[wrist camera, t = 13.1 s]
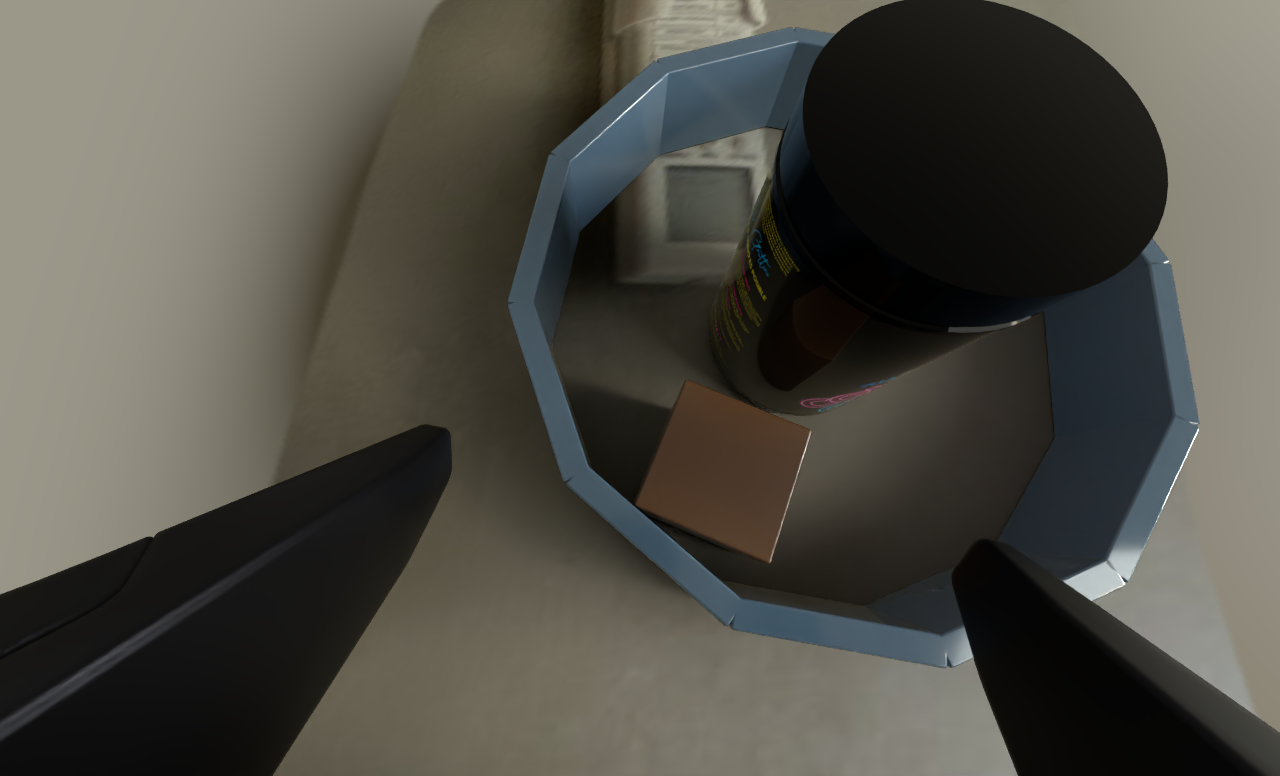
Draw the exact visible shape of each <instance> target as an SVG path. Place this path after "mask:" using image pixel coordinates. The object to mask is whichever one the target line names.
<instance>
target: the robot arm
mask: <svg viewBox="0 0 1280 776" xmlns="http://www.w3.org/2000/svg"><path fill="white" fill-rule="evenodd" d="M451 472H452V450H451V434H450V432H449V430H448V429H446V428H443V427H438V426H433V425H428V424H424V425H420V426H418V427H415V428H413V429H410V430H408V431H405V432H403V433H400V434H398V435H396V436H393V437H391V438H388V439H386V440H383V441H381V442H378V443H376V444H374V445H371V446H369V447H366V448H364V449H361V450H359V451H356V452H354V453H351V454H349V455H347V456H344V457H342V458H339V459H337V460H334V461H332V462H329V463H327V464H325V465H322V466H320V467H317V468H315V469H312V470H310V471H307V472H305V473H303V474H300V475H298V476H295V477H293V478H290V479H288V480H285V481H283V482H281V483H278V484H276V485H273V486H271V487H268V488H266V489H263V490H261V491H258V492H256V493H254V494H251V495H249V496H246V497H244V498H241V499H239V500H237V501H234V502H231V503H229V504H227V505H224V506H222V507H219V508H217V509H215V510H212V511H209V512H207V513H205V514H202V515H200V516H197V517H195V518H192V519H190V520H187V521H185V522H183V523H180V524H178V525H175V526H173V527H170V528H168V529H165V530H163V531H160V532H158V533H157V534H156V535H155V536H154V538H153V537H145V538H143V539H141V540H138V541H136V542H133V543H131V544H128V545H126V546H123V547H121V548H118V549H116V550H114V551H111V552H109V553H106V554H104V555H101V556H99V557H96V558H94V559H91V560H89V561H86V562H84V563H81V564H78V565H76V566H73V567H71V568H68V569H66V570H63V571H61V572H58V573H56V574H53V575H50V576H48V577H45V578H43V579H40V580H38V581H35V582H33V583H30V584H27V585H25V586H22V587H19V588H16V589H14V590H11V591H8V592H6V593H3V594H1V595H0V776H273V774H274V773H275V771H276V769H277V768H278V766H279V765H280V763H281V762H282V760H283V758H284V757H285V755H286V754H287V752H288V751H289V749H290V747H291V746H292V744H293V743H294V741H295V740H296V738H297V736H298V735H299V733H300V732H301V730H302V729H303V727H304V725H305V724H306V722H307V721H308V719H309V718H310V716H311V714H312V713H313V711H314V710H315V708H316V707H317V705H318V703H319V702H320V700H321V699H322V697H323V696H324V694H325V692H326V691H327V689H328V688H329V686H330V685H331V683H332V681H333V680H334V678H335V677H336V675H337V674H338V672H339V670H340V669H341V667H342V666H343V664H344V663H345V661H346V659H347V658H348V656H349V655H350V653H351V652H352V650H353V648H354V647H355V645H356V644H357V642H358V641H359V639H360V637H361V636H362V634H363V633H364V631H365V630H366V628H367V626H368V625H369V623H370V622H371V620H372V619H373V617H374V615H375V614H376V612H377V611H378V609H379V608H380V606H381V604H382V603H383V601H384V600H385V598H386V597H387V595H388V593H389V592H390V590H391V589H392V587H393V586H394V584H395V582H396V581H397V579H398V578H399V576H400V575H401V573H402V571H403V570H404V568H405V566H406V565H407V563H408V561H409V559H410V558H411V556H412V554H413V552H414V550H415V548H416V546H417V544H418V542H419V540H420V538H421V536H422V534H423V532H424V530H425V528H426V526H427V524H428V522H429V520H430V518H431V516H432V514H433V512H434V510H435V508H436V506H437V504H438V501H439V499H440V497H441V495H442V493H443V491H444V489H445V487H446V485H447V483H448V481H449V479H450V476H451ZM951 582H952V587H953V590H954V594H955V597H956V600H957V604H958V607H959V610H960V614H961V617H962V621H963V624H964V627H965V631H966V634H967V638H968V641H969V644H970V648H971V651H972V655H973V658H974V661H975V665H976V668H977V671H978V674H979V677H980V680H981V683H982V685H983V688H984V691H985V693H986V696H987V699H988V701H989V704H990V706H991V709H992V711H993V714H994V716H995V719H996V721H997V724H998V726H999V729H1000V731H1001V734H1002V737H1003V739H1004V742H1005V744H1006V747H1007V749H1008V752H1009V754H1010V757H1011V759H1012V762H1013V764H1014V767H1015V769H1016V772H1017V775H1018V776H1280V732H1278V731H1277V730H1275V729H1274V728H1272V727H1271V726H1269V725H1268V724H1267V723H1265V722H1264V721H1262V720H1261V719H1259V718H1258V717H1257V716H1255V715H1254V714H1252V713H1251V712H1249V711H1248V710H1247V709H1245V708H1244V707H1242V706H1241V705H1239V704H1238V703H1237V702H1235V701H1234V700H1232V699H1231V698H1229V697H1228V696H1227V695H1225V694H1224V693H1222V692H1221V691H1219V690H1218V689H1217V688H1215V687H1214V686H1212V685H1211V684H1209V683H1208V682H1207V681H1205V680H1204V679H1202V678H1201V677H1199V676H1198V675H1197V674H1195V673H1194V672H1192V671H1191V670H1189V669H1188V668H1187V667H1185V666H1184V665H1182V664H1181V663H1179V662H1178V661H1177V660H1175V659H1174V658H1172V657H1171V656H1169V655H1168V654H1167V653H1165V652H1164V651H1162V650H1161V649H1159V648H1158V647H1157V646H1155V645H1154V644H1152V643H1151V642H1149V641H1148V640H1146V639H1145V638H1144V637H1142V636H1141V635H1139V634H1138V633H1136V632H1135V631H1134V630H1132V629H1131V628H1129V627H1128V626H1126V625H1125V624H1124V623H1122V622H1121V621H1119V620H1118V619H1116V618H1115V617H1114V616H1112V615H1111V614H1109V613H1108V612H1106V611H1105V610H1104V609H1102V608H1101V607H1099V606H1098V605H1096V604H1095V603H1094V602H1092V601H1091V600H1089V599H1088V598H1086V597H1085V596H1084V595H1082V594H1081V593H1079V592H1078V591H1076V590H1075V589H1074V588H1072V587H1071V586H1069V585H1068V584H1066V583H1065V582H1064V581H1062V580H1061V579H1059V578H1058V577H1056V576H1055V575H1054V574H1052V573H1051V572H1049V571H1048V570H1046V569H1045V568H1044V567H1042V566H1041V565H1039V564H1038V563H1036V562H1035V561H1033V560H1032V559H1031V558H1029V557H1028V556H1026V555H1025V554H1023V553H1022V552H1021V551H1019V550H1018V549H1016V548H1015V547H1013V546H1012V545H1010V544H1008V543H1005V542H1001V541H996V540H991V539H985V538H983V539H979V540H977V541H975V542H974V543H973V544H972V545H971V547H970V548H969V549H968V551H967V552H966V553H965V555H964V556H963V557H962V558H961V560H960V561H959V562H958V564H957V565H956V566H955V567H954V569H953V572H952V576H951Z"/></svg>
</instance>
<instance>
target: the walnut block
mask: <svg viewBox="0 0 1280 776" xmlns="http://www.w3.org/2000/svg"><path fill="white" fill-rule="evenodd" d="M810 435H811V430H809V429H807V428H805V427H802V426H800V425H797V424H795V423H792V422H790V421H787V420H785V419H783V418H780V417H778V416H775V415H773V414H770V413H768V412H766V411H763V410H761V409H758V408H756V407H753V406H751V405H748V404H746V403H744V402H741V401H739V400H736V399H734V398H731V397H729V396H726V395H724V394H722V393H719V392H717V391H714V390H712V389H709V388H707V387H705V386H702V385H700V384H697V383H695V382H692V381H690V380H685V382H684V384H683V386H682V388H681V390H680V392H679V394H678V397H677V399H676V401H675V403H674V405H673V407H672V409H671V411H670V414H669V416H668V419H667V421H666V424H665V426H664V428H663V431H662V433H661V436H660V438H659V441H658V443H657V446H656V448H655V450H654V453H653V455H652V458H651V460H650V463H649V465H648V467H647V470H646V472H645V475H644V477H643V480H642V482H641V485H640V487H639V489H638V492H637V494H636V497H635V499H634V502H633V505H634V506H635V507H636V508H637V509H638V510H640V511H641V512H642V513H643V514H646V515H648V516H650V517H653V518H655V519H657V520H660V521H662V522H664V523H666V524H669V525H671V526H673V527H676V528H678V529H680V530H683V531H685V532H687V533H689V534H692V535H694V536H696V537H699V538H701V539H703V540H706V541H708V542H710V543H712V544H715V545H717V546H719V547H722V548H724V549H726V550H728V551H731V552H733V553H736V554H739V555H742V556H745V557H749V558H752V559H755V560H758V561H761V562H764V563H767V564H770V562H771V560H772V557H773V554H774V550H775V547H776V544H777V541H778V538H779V534H780V531H781V528H782V525H783V522H784V518H785V515H786V512H787V509H788V506H789V502H790V499H791V496H792V493H793V490H794V486H795V483H796V480H797V477H798V474H799V470H800V467H801V464H802V461H803V458H804V454H805V451H806V448H807V445H808V442H809V438H810Z"/></svg>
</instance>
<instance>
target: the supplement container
mask: <svg viewBox="0 0 1280 776" xmlns="http://www.w3.org/2000/svg"><path fill="white" fill-rule="evenodd" d="M1167 188H1168V174H1167V165H1166V159H1165V154H1164V150H1163V146H1162V143H1161V139H1160V137H1159V134H1158V132H1157V129H1156V127H1155V124H1154V122H1153V121H1152V119H1151V117H1150V115H1149V113H1148V111H1147V109H1146V108H1145V106H1144V105H1143V103H1142V101H1141V100H1140V98H1139V97H1138V95H1137V94H1136V93H1135V91H1134V90H1133V89H1132V88H1131V86H1130V85H1129V84H1128V82H1127V81H1126V80H1125V79H1124V78H1123V77H1122V76H1121V75H1120V74H1119V73H1118V71H1117V70H1116V69H1114V67H1113V66H1111V65H1110V64H1109V63H1108V62H1107V61H1106V60H1105V59H1104V58H1103V57H1102V56H1100V55H1099V54H1098V53H1097V52H1095V51H1094V50H1093V49H1091V48H1090V47H1089V46H1088V45H1086V44H1085V43H1083V42H1082V41H1081V40H1079V39H1078V38H1076V37H1075V36H1073V35H1072V34H1070V33H1068V32H1066V31H1065V30H1063V29H1061V28H1060V27H1058V26H1056V25H1054V24H1052V23H1050V22H1048V21H1046V20H1044V19H1042V18H1039V17H1037V16H1034V15H1032V14H1030V13H1027V12H1025V11H1022V10H1019V9H1016V8H1013V7H1010V6H1006V5H1002V4H998V3H995V2H990V1H985V0H903V1H898V2H894V3H891V4H888V5H884V6H881V7H879V8H876V9H874V10H872V11H869V12H867V13H865V14H863V15H862V16H860V17H858V18H856V19H854V20H853V21H852V22H850V23H849V24H847V25H846V26H845V27H843V28H842V29H841V30H840V31H839V32H838V33H836V34H835V35H834V36H833V37H832V38H831V39H830V41H829V42H828V43H827V44H826V45H825V46H824V48H823V49H822V51H821V52H820V54H819V55H818V57H817V58H816V60H815V62H814V64H813V66H812V68H811V71H810V73H809V75H808V78H807V80H806V82H805V85H804V87H803V89H802V92H801V94H800V96H799V99H798V101H797V104H796V106H795V108H794V111H793V113H792V115H791V117H790V119H789V121H788V122H787V124H786V127H785V129H784V131H783V133H782V135H781V138H780V140H779V143H778V146H777V150H776V153H775V159H774V161H773V164H772V166H771V168H770V171H769V173H768V175H767V178H766V180H765V182H764V185H763V187H762V189H761V192H760V194H759V196H758V199H757V201H756V203H755V206H754V208H753V210H752V213H751V215H750V217H749V220H748V222H747V224H746V227H745V229H744V231H743V234H742V236H741V238H740V241H739V243H738V245H737V248H736V250H735V253H734V255H733V257H732V260H731V262H730V264H729V267H728V269H727V271H726V274H725V276H724V278H723V281H722V283H721V285H720V288H719V290H718V292H717V295H716V297H715V299H714V302H713V304H712V307H711V311H710V316H709V324H708V334H709V342H710V346H711V350H712V353H713V356H714V359H715V361H716V363H717V365H718V367H719V369H720V370H721V372H722V374H723V375H724V376H725V378H726V379H727V380H728V382H729V383H730V384H731V385H732V386H733V387H734V388H735V389H736V390H737V391H738V392H739V393H740V394H742V395H743V396H744V397H746V398H747V399H748V400H750V401H752V402H753V403H755V404H757V405H759V406H761V407H763V408H765V409H768V410H771V411H773V412H777V413H781V414H786V415H795V416H807V415H816V414H821V413H824V412H828V411H830V410H833V409H835V408H837V407H840V406H842V405H844V404H846V403H848V402H850V401H852V400H854V399H856V398H858V397H860V396H862V395H864V394H866V393H869V392H871V391H873V390H875V389H877V388H879V387H881V386H883V385H885V384H887V383H889V382H891V381H893V380H896V379H898V378H900V377H902V376H904V375H906V374H908V373H910V372H912V371H914V370H916V369H918V368H920V367H922V366H925V365H927V364H929V363H931V362H933V361H935V360H937V359H939V358H941V357H943V356H945V355H947V354H949V353H951V352H954V351H956V350H958V349H960V348H962V347H964V346H966V345H968V344H970V343H972V342H974V341H976V340H978V339H981V338H983V337H985V336H987V335H989V334H991V333H993V332H995V331H999V330H1003V329H1006V328H1009V327H1011V326H1014V325H1016V324H1019V323H1021V322H1023V321H1025V320H1027V319H1029V318H1031V317H1033V316H1035V315H1037V314H1039V313H1040V312H1042V311H1043V310H1045V309H1047V308H1049V307H1051V306H1053V305H1055V304H1057V303H1059V302H1061V301H1063V300H1066V299H1068V298H1070V297H1072V296H1074V295H1076V294H1078V293H1080V292H1082V291H1084V290H1086V289H1089V288H1091V287H1093V286H1095V285H1097V284H1099V283H1101V282H1103V281H1105V280H1107V279H1109V278H1110V277H1112V276H1114V275H1116V274H1117V273H1119V272H1120V271H1121V270H1123V269H1124V268H1126V267H1127V266H1128V265H1129V264H1131V263H1132V262H1133V261H1134V260H1135V259H1136V258H1137V257H1138V256H1139V255H1140V254H1141V253H1142V251H1143V250H1144V249H1145V248H1146V246H1147V245H1148V244H1149V243H1150V241H1151V239H1152V237H1153V236H1154V234H1155V232H1156V231H1157V229H1158V226H1159V224H1160V221H1161V219H1162V216H1163V213H1164V209H1165V205H1166V199H1167V190H1168V189H1167Z"/></svg>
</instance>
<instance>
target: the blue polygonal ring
mask: <svg viewBox="0 0 1280 776" xmlns="http://www.w3.org/2000/svg"><path fill="white" fill-rule="evenodd" d="M834 35H835V34H833V33H827V32H821V31H815V30H810V29H804V28H798V27H796V28H795V29H793V27H789V28H784V29H780V30H776V31H772V32H768V33H764V34H759V35H755V36H751V37H747V38H743V39H738V40H734V41H730V42H726V43H722V44H718V45H713V46H709V47H705V48H701V49H697V50H693V51H688V52H684V53H680V54H676V55H672V56H667V57H663V58H659V59H657V61H653V62H652V63H651V64H650V65H649V66H648V67H646V68H645V69H644V70H643V71H642V72H641V73H640V74H638V75H637V76H636V77H635V78H634V79H633V80H632V81H631V82H629V83H628V84H627V85H626V86H625V87H624V88H623V89H622V90H620V91H619V92H618V93H617V94H616V95H615V96H614V97H612V98H611V99H610V100H609V101H608V102H607V103H606V104H605V105H603V106H602V107H601V108H600V109H599V110H598V111H597V112H596V113H594V114H593V115H592V116H591V117H590V118H589V119H588V120H586V121H585V122H584V123H583V124H582V125H581V126H580V127H579V128H577V129H576V130H575V131H574V132H573V133H572V134H571V135H569V136H568V137H567V138H566V139H565V140H564V141H563V142H562V143H560V144H559V145H558V146H557V147H556V148H555V149H554V150H553V151H552V152H551V155H549V156H548V160H547V163H546V167H545V170H544V174H543V177H542V181H541V184H540V188H539V192H538V195H537V199H536V202H535V206H534V209H533V213H532V216H531V220H530V223H529V227H528V230H527V234H526V238H525V241H524V245H523V248H522V252H521V255H520V259H519V262H518V266H517V269H516V273H515V276H514V280H513V284H512V287H511V291H510V294H509V298H508V304H509V305H508V310H509V313H510V316H511V319H512V322H513V325H514V329H515V332H516V335H517V338H518V341H519V344H520V348H521V351H522V354H523V357H524V360H525V363H526V367H527V370H528V373H529V376H530V379H531V382H532V386H533V389H534V392H535V395H536V398H537V401H538V404H539V408H540V411H541V414H542V417H543V420H544V423H545V427H546V430H547V433H548V436H549V439H550V442H551V446H552V449H553V452H554V455H555V458H556V461H557V465H558V468H559V471H560V474H561V477H562V480H563V481H564V482H566V485H567V487H568V488H569V489H571V490H572V491H573V492H574V493H575V494H576V495H577V496H578V497H580V498H581V499H582V500H583V501H584V502H585V503H586V504H587V505H589V506H590V507H591V508H592V509H593V510H594V511H595V512H597V513H598V514H599V515H600V516H601V517H602V518H603V519H604V520H606V521H607V522H608V523H609V524H610V525H611V526H612V527H614V528H615V529H616V530H617V531H618V532H619V533H620V534H621V535H623V536H624V537H625V538H626V539H627V540H628V541H629V542H631V543H632V544H633V545H634V546H635V547H636V548H637V549H638V550H640V551H641V552H642V553H643V554H644V555H645V556H646V557H648V558H649V559H650V560H651V561H652V562H653V563H654V564H655V565H657V566H658V567H659V568H660V569H661V570H662V571H663V572H665V573H666V574H667V575H668V576H669V577H670V578H671V579H672V580H674V581H675V582H676V583H677V584H678V585H679V586H680V587H681V588H683V589H684V590H685V591H686V592H687V593H688V594H689V595H691V596H692V597H693V598H694V599H695V600H696V601H697V602H698V603H700V604H701V605H702V606H703V607H704V608H705V609H706V610H708V611H709V612H710V613H711V614H712V615H713V616H714V617H715V618H717V619H718V620H719V621H720V622H721V623H722V624H723V625H725V626H729V627H730V628H731V629H733V630H736V631H742V632H747V633H753V634H758V635H764V636H769V637H775V638H780V639H785V640H791V641H796V642H802V643H807V644H813V645H818V646H824V647H829V648H835V649H840V650H846V651H851V652H857V653H862V654H868V655H873V656H879V657H884V658H890V659H895V660H901V661H906V662H912V663H917V664H923V665H928V666H934V667H939V668H947V666H948V667H950V668H953V667H955V666H958V665H960V664H962V663H964V662H966V661H968V660H970V659H972V658H973V655H972V651H971V648H970V644H969V641H968V638H967V634H966V631H965V627H964V624H963V621H962V617H961V614H960V610H959V607H958V604H957V600H956V597H955V594H954V590H953V587H952V582H951V576H952V572H953V569H954V567H955V566H956V565H955V566H953V567H951V568H949V569H946V570H944V571H942V572H939V573H937V574H935V575H933V576H930V577H928V578H926V579H924V580H921V581H919V582H917V583H915V584H912V585H910V586H908V587H905V588H903V589H901V590H899V591H896V592H894V593H892V594H890V595H887V596H885V597H883V598H881V599H878V600H876V601H874V602H871V603H869V604H867V605H865V606H862V605H856V604H851V603H845V602H840V601H834V600H829V599H823V598H818V597H812V596H807V595H801V594H796V593H790V592H785V591H779V590H774V589H768V588H763V587H757V586H752V585H746V584H741V583H735V582H730V581H724V580H719V579H718V578H717V577H716V576H715V575H713V574H712V573H711V572H710V571H709V570H708V569H707V568H705V567H704V566H703V565H702V564H701V563H700V562H698V561H697V560H696V559H695V558H694V557H693V556H692V555H690V554H689V553H688V552H687V551H686V550H685V549H683V548H682V547H681V546H680V545H679V544H678V543H677V542H675V541H674V540H673V539H672V538H671V537H670V536H668V535H667V534H666V533H665V532H664V531H663V530H662V529H660V528H659V527H658V526H657V525H656V524H655V523H653V522H652V521H651V520H650V519H649V518H648V517H647V516H645V515H644V514H643V513H642V512H641V511H640V510H638V509H637V508H636V507H635V506H634V505H633V504H632V503H630V502H629V501H628V500H627V499H626V498H625V497H623V496H622V495H621V494H620V493H619V492H618V491H617V490H615V489H614V488H613V487H612V486H611V485H610V484H608V483H607V482H606V481H605V480H604V479H603V478H602V477H600V476H599V475H598V474H597V473H596V472H595V471H593V468H592V465H591V462H590V459H589V456H588V453H587V450H586V447H585V444H584V441H583V438H582V435H581V432H580V429H579V426H578V424H577V421H576V418H575V415H574V412H573V409H572V406H571V403H570V400H569V397H568V394H567V391H566V388H565V385H564V382H563V379H562V376H561V373H560V370H559V367H558V364H557V361H556V358H555V355H554V352H553V349H552V345H553V341H554V337H555V333H556V329H557V324H558V320H559V316H560V312H561V308H562V304H563V300H564V296H565V292H566V288H567V283H568V279H569V275H570V271H571V267H572V263H573V259H574V255H575V251H576V247H577V243H578V238H579V234H580V231H581V230H582V229H583V228H584V227H585V226H586V225H587V224H588V223H589V222H591V221H592V220H593V219H594V218H595V217H596V216H597V215H598V214H599V213H600V212H601V211H602V210H603V209H604V208H605V207H606V206H607V205H608V204H609V203H610V202H611V201H612V200H613V199H614V198H615V197H616V196H617V195H618V194H619V193H621V192H622V191H623V190H624V189H625V188H626V187H627V186H628V185H629V184H630V183H631V182H632V181H633V180H634V179H635V178H636V177H637V176H638V175H639V174H640V173H641V172H642V171H643V170H644V169H645V168H646V167H647V166H648V165H649V164H651V163H652V162H653V161H654V160H655V159H656V158H657V157H658V156H659V155H662V154H666V153H669V152H673V151H677V150H680V149H684V148H688V147H691V146H695V145H699V144H703V143H706V142H710V141H714V140H717V139H721V138H725V137H728V136H732V135H736V134H740V133H743V132H747V131H751V130H754V129H758V128H762V127H766V126H767V127H772V128H778V129H785V127H786V124H787V122H788V121H789V119H790V117H791V115H792V113H793V111H794V108H795V106H796V104H797V101H798V99H799V96H800V94H801V92H802V89H803V87H804V85H805V82H806V80H807V78H808V75H809V73H810V71H811V68H812V66H813V64H814V62H815V60H816V58H817V57H818V55H819V54H820V52H821V51H822V49H823V48H824V46H825V45H826V44H827V43H828V42H829V41H830V39H831V38H832V37H833V36H834ZM1168 261H1169V260H1168V258H1167V257H1166V256H1165V254H1164V253H1163V252H1162V250H1161V249H1160V248H1159V246H1158V245H1157V244H1156V242H1155V241H1154V240H1153V238H1152V239H1151V241H1150V243H1149V244H1148V245H1147V246H1146V248H1145V249H1144V250H1143V251H1142V253H1141V254H1140V255H1139V256H1138V257H1137V258H1136V259H1135V260H1134V261H1133V262H1132V263H1131V264H1129V265H1128V266H1127V267H1126V268H1124V269H1123V270H1121V271H1120V272H1119V273H1117V274H1116V275H1114V276H1112V277H1110V278H1109V279H1107V280H1105V281H1103V282H1101V283H1099V284H1097V285H1095V286H1093V287H1091V288H1089V289H1086V290H1084V291H1082V292H1080V293H1078V294H1076V295H1074V296H1072V297H1070V298H1068V299H1066V300H1063V301H1061V302H1059V303H1057V304H1055V305H1053V306H1051V307H1049V308H1047V309H1045V310H1043V313H1044V317H1045V329H1046V341H1047V353H1048V364H1049V376H1050V388H1051V399H1052V411H1053V423H1054V435H1055V438H1054V440H1053V441H1052V443H1051V445H1050V447H1049V449H1048V450H1047V452H1046V454H1045V456H1044V458H1043V459H1042V461H1041V463H1040V465H1039V467H1038V468H1037V470H1036V472H1035V474H1034V475H1033V477H1032V479H1031V481H1030V483H1029V484H1028V486H1027V488H1026V490H1025V492H1024V493H1023V495H1022V497H1021V499H1020V501H1019V502H1018V504H1017V506H1016V508H1015V510H1014V511H1013V513H1012V515H1011V517H1010V518H1009V520H1008V522H1007V524H1006V526H1005V527H1004V529H1003V531H1002V533H1001V535H1000V536H999V538H998V540H997V541H1001V542H1005V543H1008V544H1010V545H1012V546H1013V547H1015V548H1016V549H1018V550H1019V551H1021V552H1022V553H1023V554H1025V555H1026V556H1028V557H1029V558H1031V559H1032V560H1033V561H1035V562H1036V563H1038V564H1039V565H1041V566H1042V567H1044V568H1045V569H1046V570H1048V571H1049V572H1051V573H1052V574H1054V575H1055V576H1056V577H1058V578H1059V579H1061V580H1062V581H1064V582H1065V583H1066V584H1068V585H1069V586H1071V587H1072V588H1074V589H1075V590H1076V591H1078V592H1079V593H1081V594H1082V595H1084V596H1085V597H1086V598H1088V599H1089V600H1091V601H1094V600H1096V599H1098V598H1100V597H1102V596H1104V595H1107V594H1109V593H1111V592H1113V591H1115V590H1117V589H1119V588H1121V587H1123V586H1125V583H1124V582H1129V580H1130V578H1131V576H1132V574H1133V572H1134V569H1135V567H1136V565H1137V563H1138V561H1139V559H1140V556H1141V554H1142V552H1143V550H1144V548H1145V545H1146V543H1147V541H1148V539H1149V537H1150V535H1151V532H1152V530H1153V528H1154V526H1155V524H1156V522H1157V519H1158V517H1159V515H1160V513H1161V511H1162V509H1163V506H1164V504H1165V502H1166V500H1167V498H1168V496H1169V493H1170V491H1171V489H1172V487H1173V485H1174V483H1175V480H1176V478H1177V476H1178V474H1179V472H1180V470H1181V467H1182V465H1183V463H1184V461H1185V459H1186V457H1187V454H1188V452H1189V450H1190V448H1191V446H1192V444H1193V441H1194V439H1195V437H1196V435H1197V433H1198V431H1199V428H1198V427H1197V425H1199V424H1200V423H1199V418H1198V412H1197V406H1196V401H1195V395H1194V389H1193V384H1192V378H1191V373H1190V367H1189V361H1188V356H1187V351H1186V344H1185V339H1184V333H1183V327H1182V322H1181V317H1180V311H1179V305H1178V299H1177V294H1176V288H1175V283H1174V277H1173V272H1172V266H1171V264H1168V263H1167V262H1168Z"/></svg>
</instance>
